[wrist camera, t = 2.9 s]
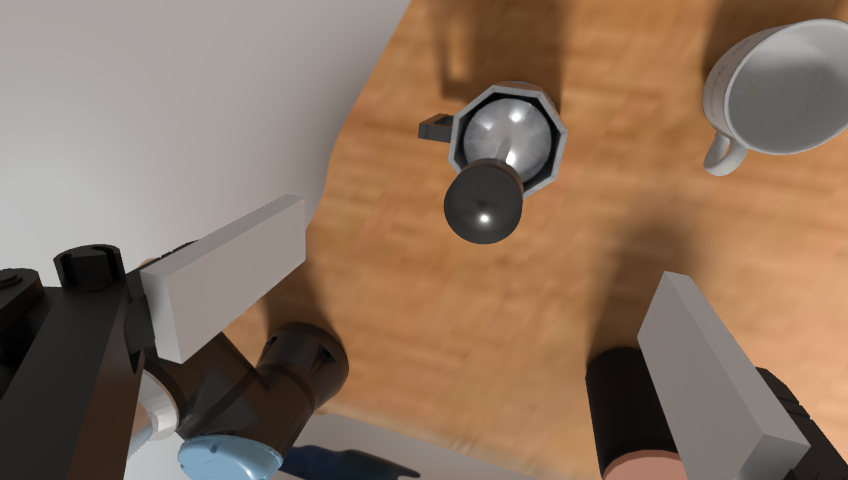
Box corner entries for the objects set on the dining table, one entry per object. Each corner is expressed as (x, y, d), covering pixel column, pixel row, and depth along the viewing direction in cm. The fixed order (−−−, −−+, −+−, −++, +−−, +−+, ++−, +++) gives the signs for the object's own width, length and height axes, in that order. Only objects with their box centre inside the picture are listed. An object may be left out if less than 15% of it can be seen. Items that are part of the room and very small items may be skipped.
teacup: (767, 1, 38) (820, -14, 31) (848, 77, 39) (919, 79, 31) (643, 120, 44) (664, 130, 37) (715, 183, 45) (749, 206, 38)
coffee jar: (573, 389, 60) (587, 507, 44) (600, 333, 55) (626, 442, 39) (647, 413, 58) (689, 544, 42) (681, 357, 54) (743, 481, 38)
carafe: (437, 159, 52) (409, 185, 40) (448, 71, 47) (420, 73, 36) (546, 177, 49) (550, 211, 38) (569, 86, 45) (580, 94, 33)
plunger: (459, 176, 41) (401, 260, 23) (472, 92, 37) (415, 117, 20) (539, 190, 39) (542, 291, 22) (560, 104, 36) (583, 142, 18)
